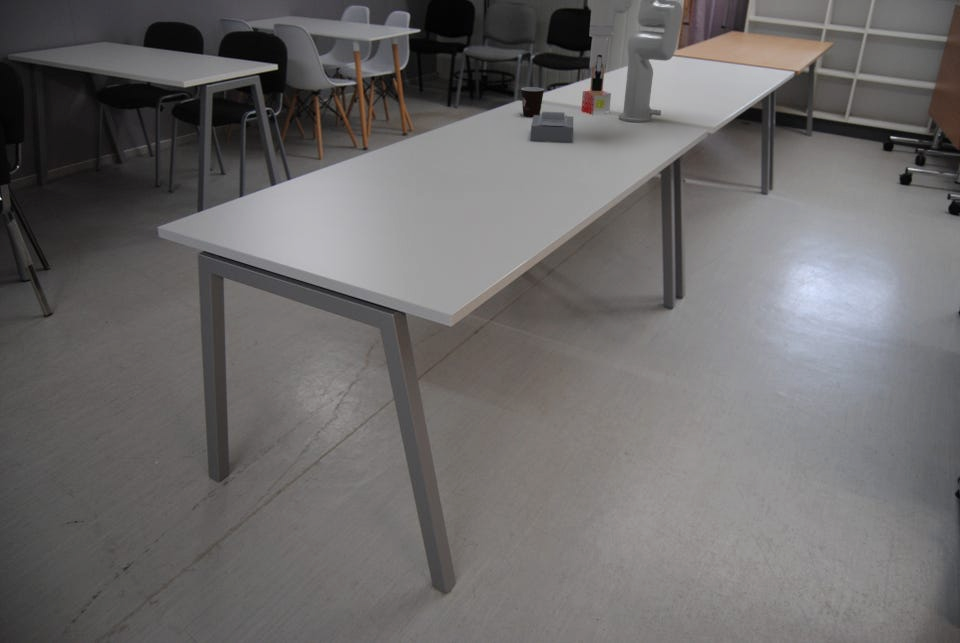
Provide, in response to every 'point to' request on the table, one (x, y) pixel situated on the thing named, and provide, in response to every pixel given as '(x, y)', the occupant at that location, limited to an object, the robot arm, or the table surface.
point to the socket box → (552, 130)
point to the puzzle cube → (596, 103)
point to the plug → (595, 93)
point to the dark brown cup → (531, 101)
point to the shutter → (553, 118)
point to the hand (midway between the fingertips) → (596, 88)
